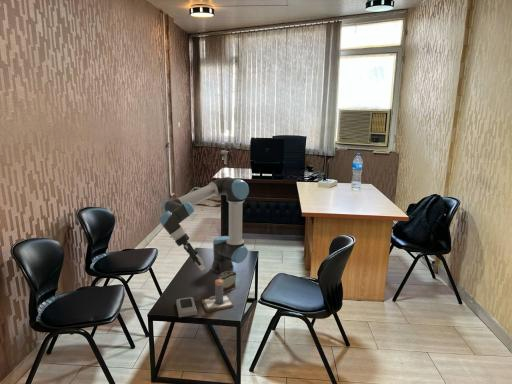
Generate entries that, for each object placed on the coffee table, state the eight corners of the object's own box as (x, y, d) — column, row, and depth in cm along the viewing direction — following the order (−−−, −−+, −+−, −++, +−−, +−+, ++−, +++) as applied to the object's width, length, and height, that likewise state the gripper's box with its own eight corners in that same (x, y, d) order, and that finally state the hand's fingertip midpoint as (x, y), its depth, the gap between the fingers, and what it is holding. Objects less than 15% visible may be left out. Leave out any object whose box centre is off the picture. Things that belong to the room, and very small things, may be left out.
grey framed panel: (178, 311, 190) (176, 298, 204) (179, 318, 190) (176, 304, 204) (197, 308, 192) (193, 295, 206) (197, 315, 193) (193, 301, 207)
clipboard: (201, 301, 206) (201, 298, 205) (226, 296, 211) (226, 293, 211) (206, 312, 195) (206, 308, 195) (233, 306, 201) (233, 303, 200)
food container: (230, 283, 228) (230, 268, 226) (236, 287, 223) (236, 271, 221) (214, 290, 219) (214, 274, 217) (221, 293, 215) (220, 278, 213)
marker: (214, 301, 204) (213, 279, 201) (222, 299, 205) (221, 278, 202) (216, 305, 200) (216, 283, 197) (224, 303, 201) (224, 282, 198)
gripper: (174, 237, 210) (196, 266, 213) (173, 244, 186) (198, 276, 189) (185, 229, 211) (206, 258, 214) (185, 235, 187) (210, 267, 190)
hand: (203, 266), depth 202 cm, fingers open, 13 cm apart
